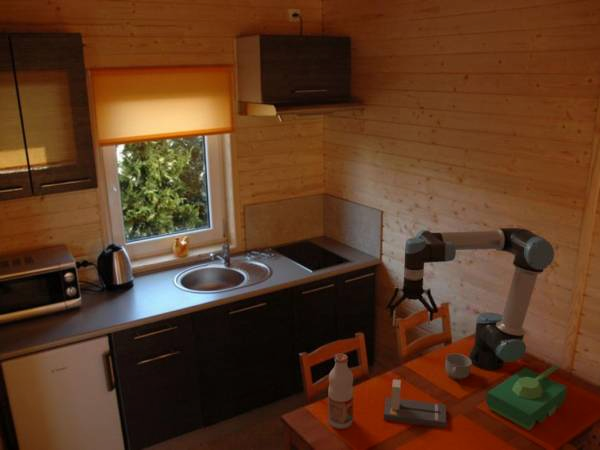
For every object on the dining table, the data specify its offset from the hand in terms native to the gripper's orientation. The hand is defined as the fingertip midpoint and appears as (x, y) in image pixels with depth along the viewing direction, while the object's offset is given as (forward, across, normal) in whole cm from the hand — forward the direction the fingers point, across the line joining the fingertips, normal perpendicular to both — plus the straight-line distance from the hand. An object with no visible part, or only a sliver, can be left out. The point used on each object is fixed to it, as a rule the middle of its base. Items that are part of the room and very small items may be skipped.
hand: (410, 325), depth 217 cm
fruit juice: (+29, -24, -28) cm, 47 cm away
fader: (+26, -4, -18) cm, 32 cm away
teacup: (+29, +20, +12) cm, 37 cm away
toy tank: (+29, +48, -1) cm, 56 cm away
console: (+29, +4, -18) cm, 34 cm away
